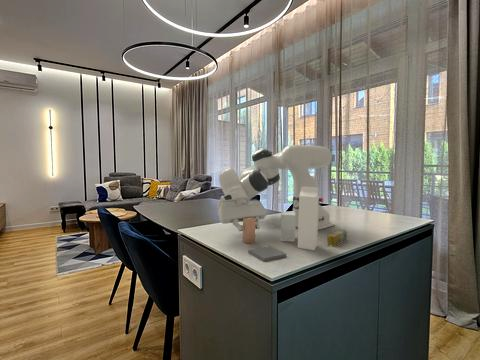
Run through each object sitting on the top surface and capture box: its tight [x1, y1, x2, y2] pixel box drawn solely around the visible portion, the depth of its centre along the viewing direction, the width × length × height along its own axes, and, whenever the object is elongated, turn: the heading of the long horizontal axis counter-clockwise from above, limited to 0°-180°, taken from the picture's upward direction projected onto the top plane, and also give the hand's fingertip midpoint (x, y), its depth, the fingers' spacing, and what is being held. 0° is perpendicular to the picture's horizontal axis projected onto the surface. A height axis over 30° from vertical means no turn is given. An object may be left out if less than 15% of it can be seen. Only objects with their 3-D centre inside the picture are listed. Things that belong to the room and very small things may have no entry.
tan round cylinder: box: [242, 217, 256, 244], centre depth 101 cm, size 5×5×9 cm
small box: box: [280, 210, 296, 243], centre depth 105 cm, size 8×6×10 cm
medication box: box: [327, 229, 348, 247], centre depth 102 cm, size 12×3×4 cm, turn 137°
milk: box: [297, 187, 320, 251], centre depth 95 cm, size 6×6×22 cm
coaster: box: [247, 245, 287, 262], centre depth 87 cm, size 9×9×1 cm
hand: (249, 229), depth 100 cm, fingers open, 6 cm apart
